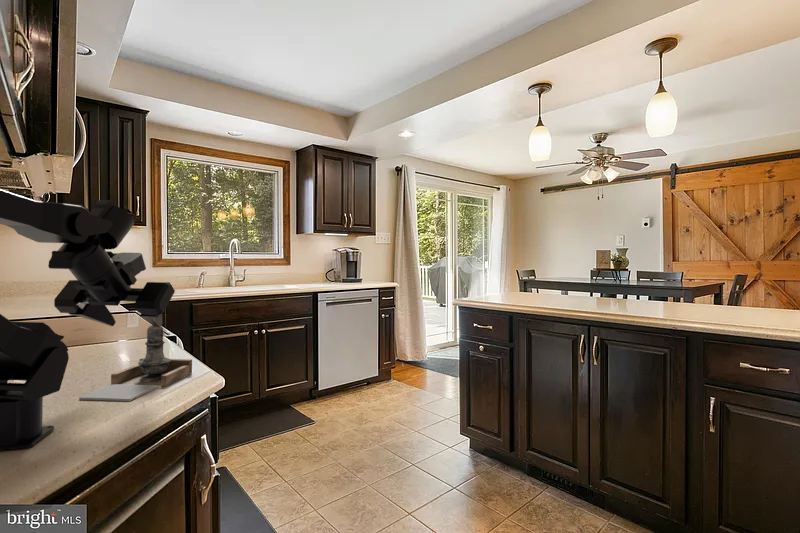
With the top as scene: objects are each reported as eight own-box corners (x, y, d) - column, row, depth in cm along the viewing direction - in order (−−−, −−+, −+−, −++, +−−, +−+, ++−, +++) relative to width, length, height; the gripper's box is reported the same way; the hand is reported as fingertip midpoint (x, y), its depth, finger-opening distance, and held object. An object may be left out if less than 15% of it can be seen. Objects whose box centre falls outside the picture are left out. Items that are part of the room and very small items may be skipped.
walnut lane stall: (166, 386, 81) (166, 370, 81) (111, 384, 81) (111, 369, 81) (191, 373, 90) (192, 359, 90) (142, 371, 91) (142, 358, 91)
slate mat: (130, 401, 72) (130, 398, 72) (79, 399, 72) (79, 397, 72) (158, 387, 80) (158, 385, 80) (112, 386, 80) (112, 384, 80)
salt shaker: (155, 383, 83) (156, 323, 82) (130, 381, 84) (131, 321, 84) (177, 375, 88) (178, 319, 88) (153, 373, 90) (154, 318, 89)
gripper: (169, 237, 74) (200, 294, 86) (68, 235, 75) (111, 292, 86) (140, 283, 67) (178, 339, 78) (27, 281, 67) (80, 336, 78)
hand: (137, 324), depth 80 cm, fingers open, 9 cm apart
